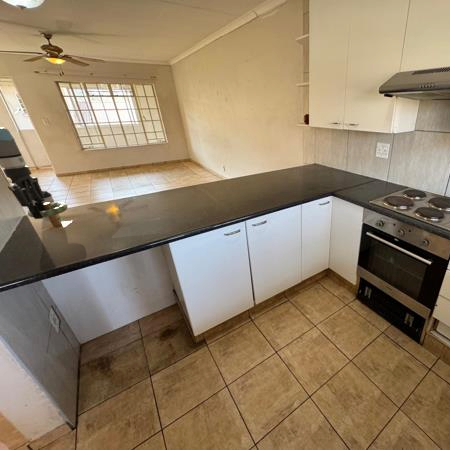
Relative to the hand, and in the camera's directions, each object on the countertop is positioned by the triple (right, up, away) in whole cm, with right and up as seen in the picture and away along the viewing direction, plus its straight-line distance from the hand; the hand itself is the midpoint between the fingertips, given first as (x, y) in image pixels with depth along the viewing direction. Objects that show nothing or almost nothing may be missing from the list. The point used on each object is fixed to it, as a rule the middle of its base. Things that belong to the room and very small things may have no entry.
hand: (41, 216), depth 115 cm
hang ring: (-1, +3, +4) cm, 6 cm away
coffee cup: (-15, -1, +19) cm, 24 cm away
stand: (-1, -6, +9) cm, 11 cm away
